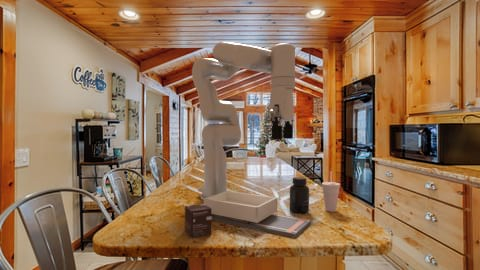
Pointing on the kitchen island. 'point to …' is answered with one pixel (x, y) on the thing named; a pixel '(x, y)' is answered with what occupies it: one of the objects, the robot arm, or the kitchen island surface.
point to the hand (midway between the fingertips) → (282, 138)
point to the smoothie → (330, 194)
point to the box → (198, 220)
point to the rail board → (271, 224)
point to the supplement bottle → (299, 196)
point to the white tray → (242, 206)
